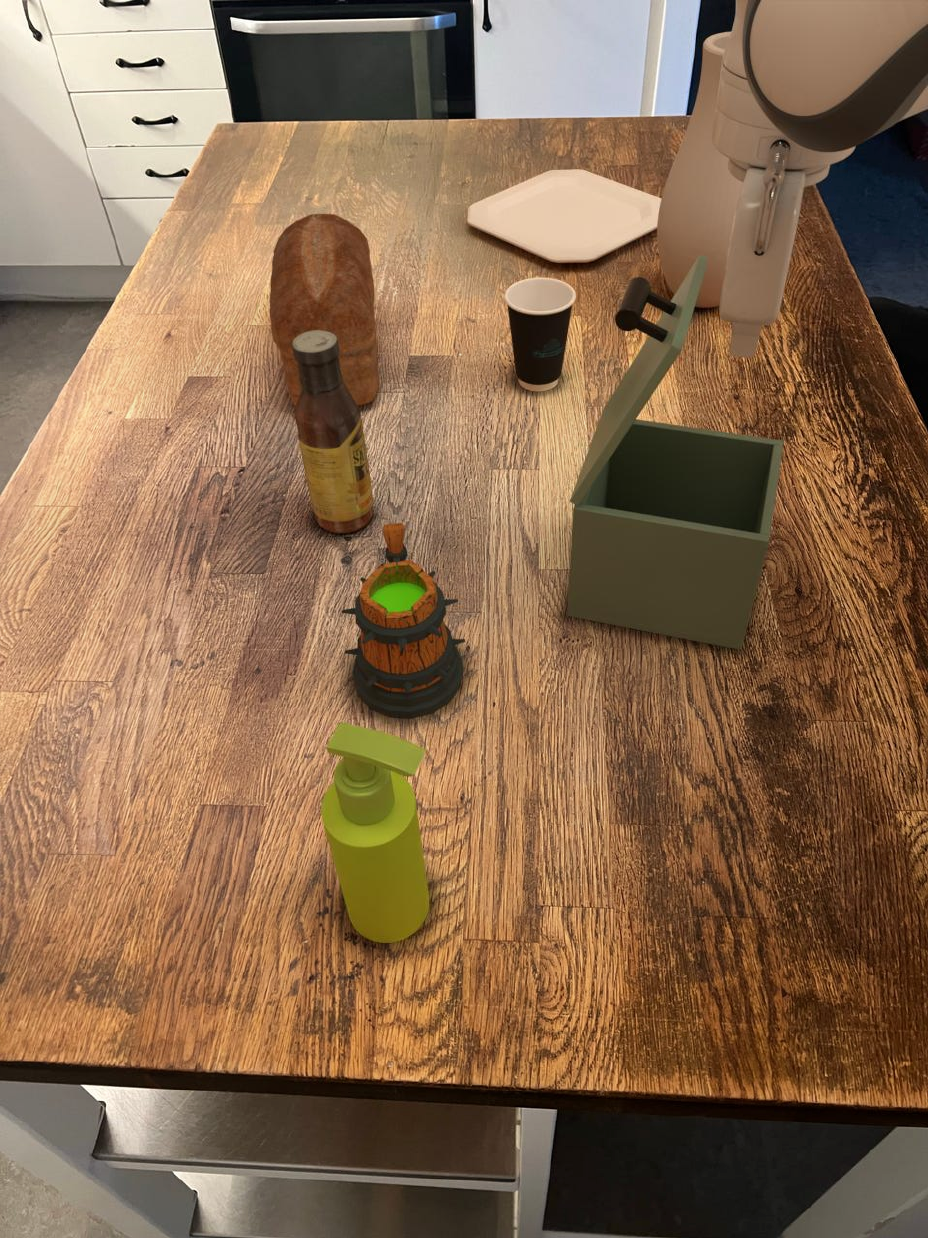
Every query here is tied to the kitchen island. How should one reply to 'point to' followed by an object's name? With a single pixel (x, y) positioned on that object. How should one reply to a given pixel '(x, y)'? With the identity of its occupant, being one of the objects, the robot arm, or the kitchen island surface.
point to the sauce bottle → (331, 437)
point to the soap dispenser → (376, 832)
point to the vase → (699, 192)
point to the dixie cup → (539, 329)
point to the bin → (676, 533)
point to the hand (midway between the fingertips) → (749, 317)
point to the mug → (403, 637)
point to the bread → (326, 299)
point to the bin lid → (641, 364)
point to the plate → (567, 215)
